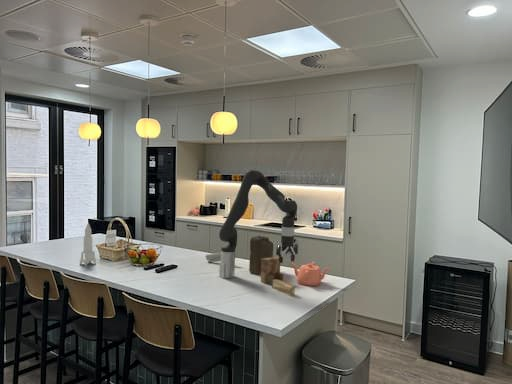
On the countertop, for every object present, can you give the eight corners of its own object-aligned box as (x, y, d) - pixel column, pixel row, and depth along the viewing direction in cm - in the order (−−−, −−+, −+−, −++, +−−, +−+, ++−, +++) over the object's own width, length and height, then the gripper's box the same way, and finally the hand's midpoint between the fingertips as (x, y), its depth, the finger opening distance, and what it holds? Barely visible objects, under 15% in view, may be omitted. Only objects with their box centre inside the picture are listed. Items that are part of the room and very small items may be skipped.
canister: (257, 275, 253) (258, 238, 251) (247, 273, 258) (248, 237, 256) (273, 270, 267) (274, 235, 266) (264, 268, 273) (265, 234, 271)
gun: (236, 265, 274) (233, 251, 274) (207, 268, 284) (204, 255, 284) (237, 264, 276) (235, 250, 276) (208, 267, 286) (206, 254, 287)
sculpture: (96, 263, 269) (96, 222, 267) (85, 266, 262) (85, 223, 260) (90, 262, 272) (90, 221, 271) (79, 264, 265) (79, 222, 264)
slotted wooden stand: (269, 286, 230) (270, 262, 229) (259, 281, 238) (260, 258, 237) (285, 283, 237) (286, 259, 236) (275, 279, 246) (276, 256, 245)
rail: (289, 296, 213) (290, 287, 213) (272, 287, 227) (272, 279, 227) (294, 295, 215) (294, 286, 215) (276, 287, 229) (277, 279, 229)
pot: (314, 278, 251) (315, 259, 250) (329, 285, 235) (329, 266, 234) (290, 280, 244) (290, 261, 243) (303, 288, 228) (304, 268, 227)
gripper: (282, 236, 210) (281, 264, 211) (301, 234, 218) (300, 262, 219) (274, 234, 216) (273, 262, 217) (293, 232, 224) (292, 259, 225)
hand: (286, 262), depth 218 cm, fingers open, 8 cm apart
